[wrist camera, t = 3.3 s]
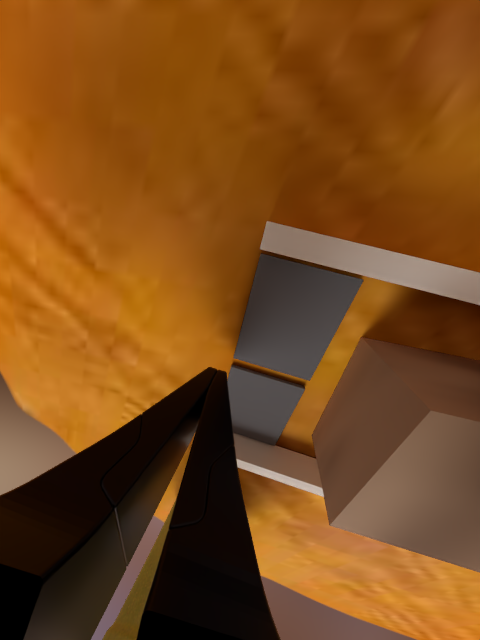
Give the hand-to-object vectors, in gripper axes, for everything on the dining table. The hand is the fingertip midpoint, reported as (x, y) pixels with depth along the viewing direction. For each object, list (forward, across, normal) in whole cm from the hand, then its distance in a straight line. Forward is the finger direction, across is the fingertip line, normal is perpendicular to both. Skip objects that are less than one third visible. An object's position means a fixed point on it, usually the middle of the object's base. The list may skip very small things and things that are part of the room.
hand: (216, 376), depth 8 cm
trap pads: (+1, -2, 0) cm, 3 cm away
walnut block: (+2, -10, 0) cm, 10 cm away
